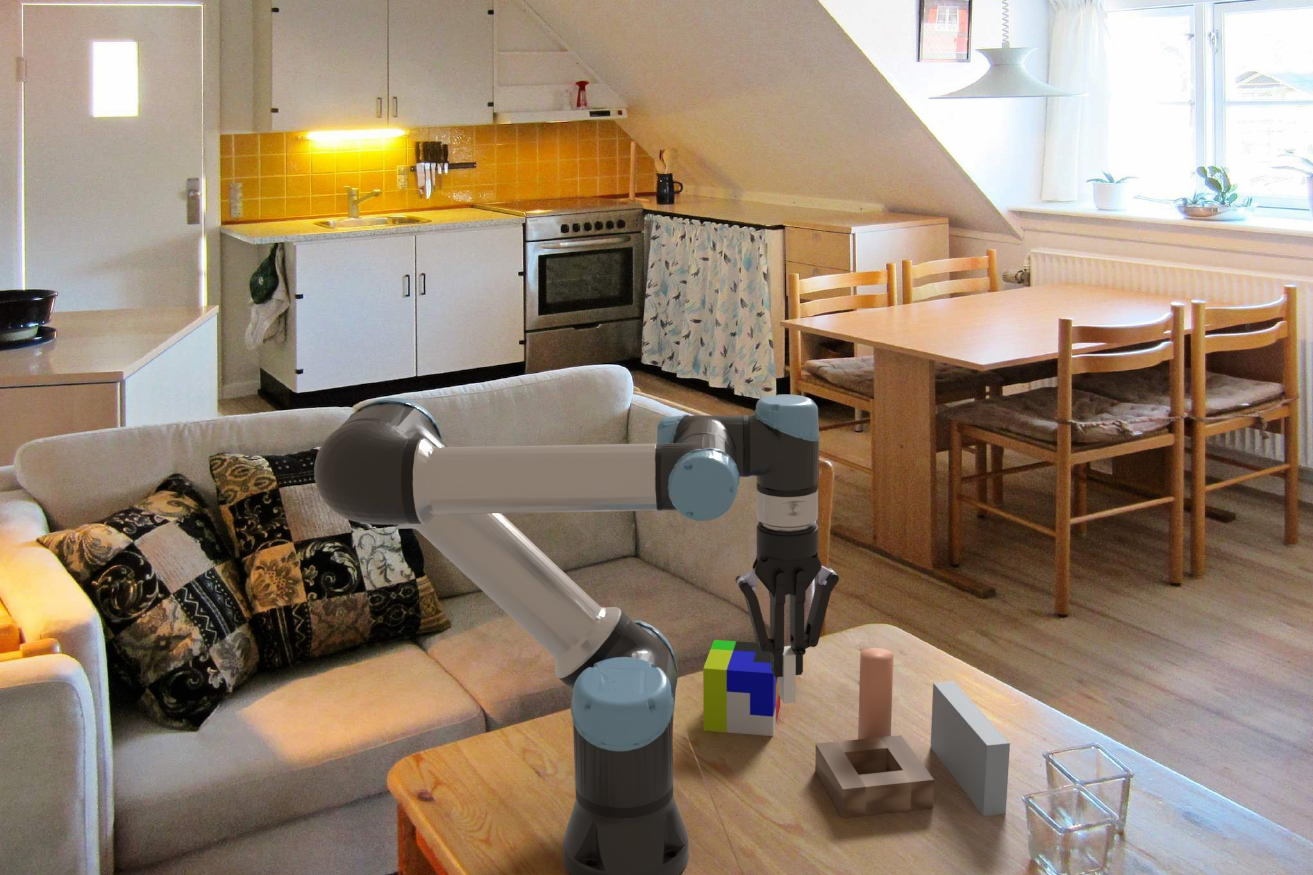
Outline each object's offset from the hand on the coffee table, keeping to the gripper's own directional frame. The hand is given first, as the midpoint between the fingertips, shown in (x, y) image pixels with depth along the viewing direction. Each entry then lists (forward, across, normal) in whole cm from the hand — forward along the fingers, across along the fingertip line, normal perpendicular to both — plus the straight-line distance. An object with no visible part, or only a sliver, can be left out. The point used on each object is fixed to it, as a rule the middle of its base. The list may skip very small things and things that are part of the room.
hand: (786, 697), depth 163 cm
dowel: (+15, +16, +11) cm, 24 cm away
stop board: (+15, +25, 0) cm, 29 cm away
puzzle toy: (+15, 0, +23) cm, 27 cm away
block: (+14, +12, 0) cm, 18 cm away
